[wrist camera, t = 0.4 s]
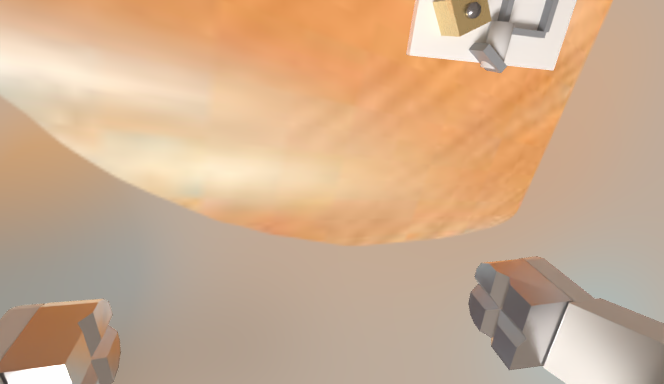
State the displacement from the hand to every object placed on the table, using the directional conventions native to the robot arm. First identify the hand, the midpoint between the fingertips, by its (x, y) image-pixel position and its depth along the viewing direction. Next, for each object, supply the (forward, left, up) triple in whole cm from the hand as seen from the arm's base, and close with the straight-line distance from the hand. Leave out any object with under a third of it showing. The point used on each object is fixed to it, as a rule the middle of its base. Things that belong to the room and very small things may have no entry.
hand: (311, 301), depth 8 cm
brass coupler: (-10, +25, -44) cm, 52 cm away
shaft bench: (-12, +32, -46) cm, 57 cm away
